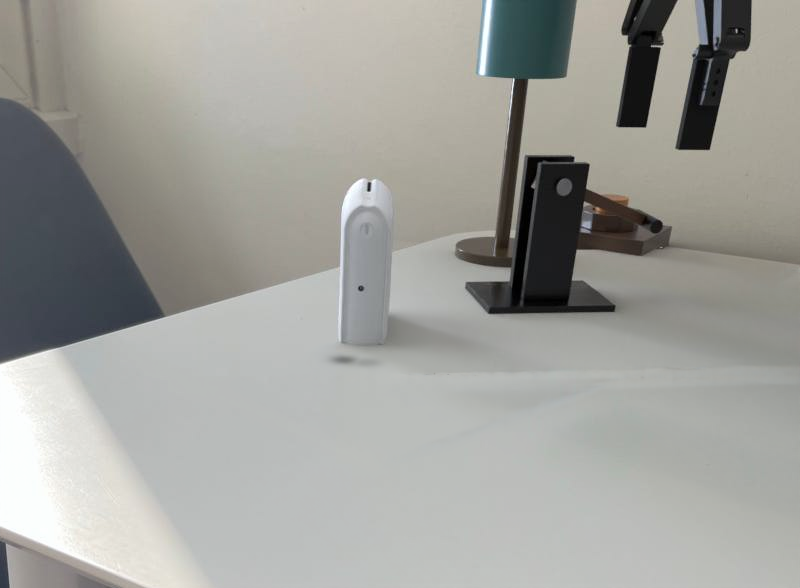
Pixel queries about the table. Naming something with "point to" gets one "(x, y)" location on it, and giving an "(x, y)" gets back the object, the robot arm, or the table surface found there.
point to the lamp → (517, 93)
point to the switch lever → (621, 210)
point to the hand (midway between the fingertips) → (659, 138)
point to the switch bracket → (545, 245)
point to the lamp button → (617, 198)
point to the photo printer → (365, 263)
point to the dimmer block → (617, 234)
